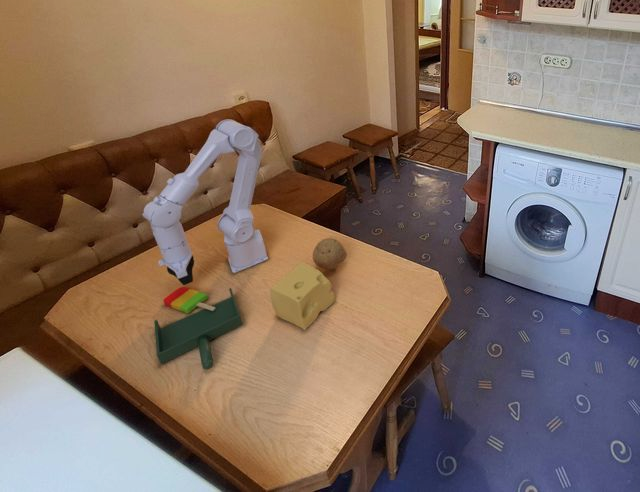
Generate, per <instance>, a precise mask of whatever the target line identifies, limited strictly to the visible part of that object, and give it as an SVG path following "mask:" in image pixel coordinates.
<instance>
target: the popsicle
mask: <svg viewBox="0 0 640 492" xmlns="http://www.w3.org/2000/svg"><path fill="white" fill-rule="evenodd" d="M208 299H209V294H207V293H205V292H202V291H200V290H196V289H193V288H189V287H187V286H180V287H178V288H177V289H175V290H174V291H173V292H171V293H169V294H168V295H167V296H165V298H163V303H164V305H165V306H167V307H169V308H172V309H175V310H177V311H180V312H183V313H186V314H190V313H191V312H192V311H194V310H195V309H196V308H198V307H199V308H202V309H208V310H211V311H213V310H215V309H216V308H215V307H213V306H212V305H210V304H208V303H204V302H205V301H206V300H208Z"/></svg>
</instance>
